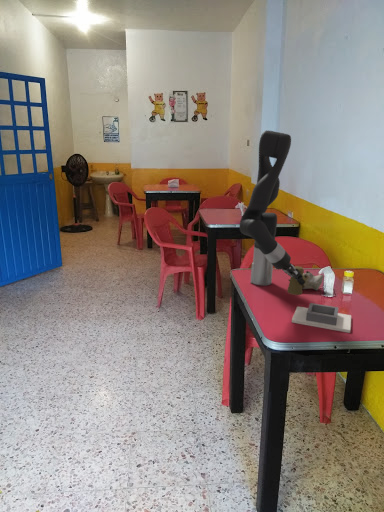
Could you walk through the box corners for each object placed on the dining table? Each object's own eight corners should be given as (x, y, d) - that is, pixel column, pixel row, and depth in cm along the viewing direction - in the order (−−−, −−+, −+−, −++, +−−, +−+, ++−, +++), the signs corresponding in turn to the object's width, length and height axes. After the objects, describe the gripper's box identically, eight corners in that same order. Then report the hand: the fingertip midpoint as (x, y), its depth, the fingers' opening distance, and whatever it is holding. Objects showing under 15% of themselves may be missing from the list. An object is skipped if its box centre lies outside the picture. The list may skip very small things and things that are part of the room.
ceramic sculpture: (324, 275, 171) (289, 274, 174) (323, 293, 174) (288, 292, 177) (322, 268, 182) (288, 267, 185) (321, 286, 184) (288, 285, 187)
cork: (302, 295, 160) (305, 270, 157) (287, 294, 161) (290, 268, 158) (301, 290, 165) (304, 265, 162) (287, 288, 167) (289, 264, 163)
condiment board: (291, 322, 144) (292, 312, 143) (297, 308, 157) (298, 299, 156) (349, 332, 137) (351, 322, 136) (350, 317, 150) (352, 307, 149)
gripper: (292, 253, 149) (316, 280, 156) (274, 243, 162) (297, 269, 169) (278, 267, 149) (303, 294, 156) (261, 256, 162) (284, 282, 169)
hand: (299, 281), depth 162 cm, fingers closed on cork, 4 cm apart
